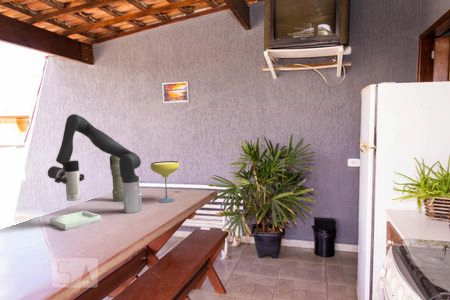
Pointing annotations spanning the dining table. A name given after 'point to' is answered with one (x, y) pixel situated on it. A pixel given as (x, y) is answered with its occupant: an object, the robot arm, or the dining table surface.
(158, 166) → the cocktail glass
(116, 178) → the olive green statue
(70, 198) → the spray can
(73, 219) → the sage tray
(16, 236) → the dining table surface
